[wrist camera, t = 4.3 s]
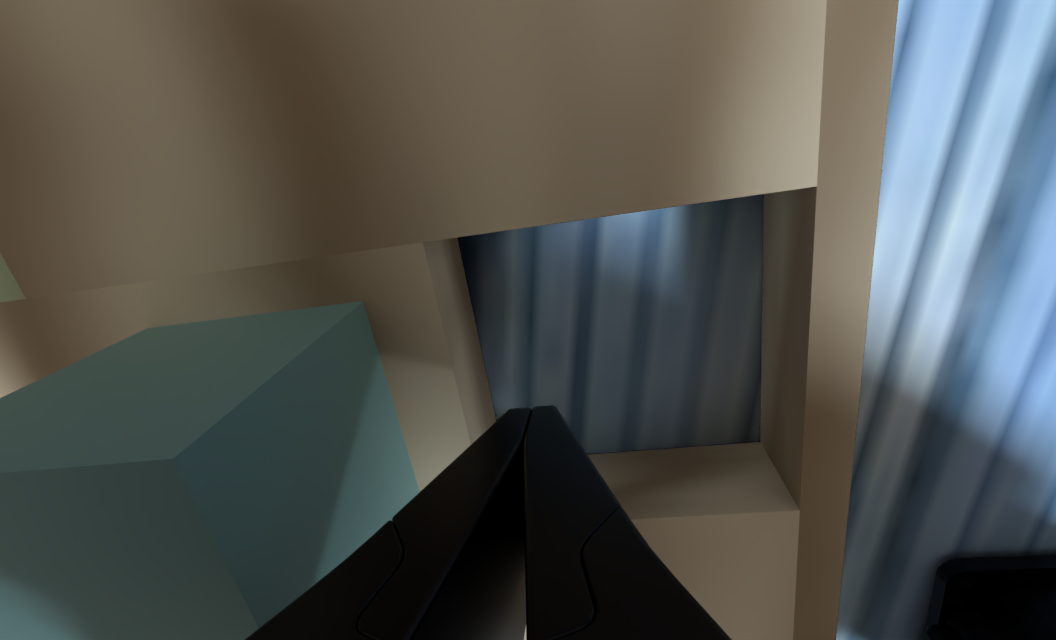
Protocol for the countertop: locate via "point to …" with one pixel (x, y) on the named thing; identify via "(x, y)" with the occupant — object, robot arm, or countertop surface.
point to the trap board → (465, 213)
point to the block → (195, 477)
